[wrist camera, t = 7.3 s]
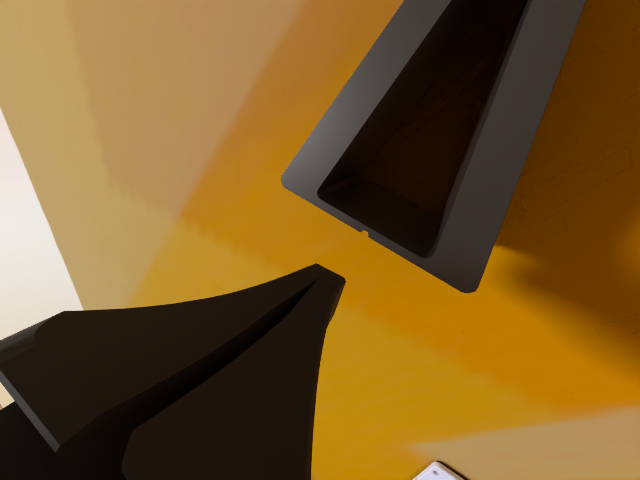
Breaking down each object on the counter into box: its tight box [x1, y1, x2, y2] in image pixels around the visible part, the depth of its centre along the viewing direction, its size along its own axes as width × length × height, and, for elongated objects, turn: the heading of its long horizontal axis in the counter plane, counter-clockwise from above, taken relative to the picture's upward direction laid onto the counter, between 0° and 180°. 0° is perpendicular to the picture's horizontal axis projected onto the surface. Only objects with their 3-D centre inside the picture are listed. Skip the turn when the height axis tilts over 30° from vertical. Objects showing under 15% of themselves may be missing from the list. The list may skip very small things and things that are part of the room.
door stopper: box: [281, 0, 586, 293], centre depth 9 cm, size 9×6×12 cm
